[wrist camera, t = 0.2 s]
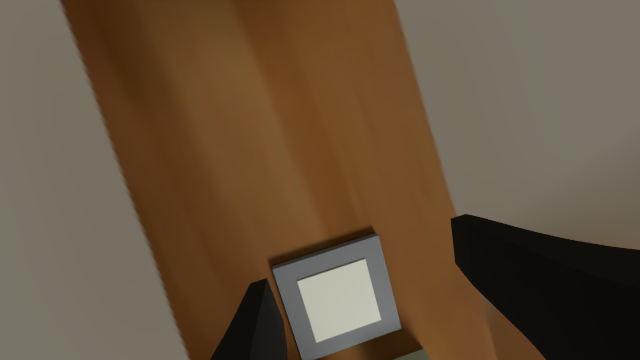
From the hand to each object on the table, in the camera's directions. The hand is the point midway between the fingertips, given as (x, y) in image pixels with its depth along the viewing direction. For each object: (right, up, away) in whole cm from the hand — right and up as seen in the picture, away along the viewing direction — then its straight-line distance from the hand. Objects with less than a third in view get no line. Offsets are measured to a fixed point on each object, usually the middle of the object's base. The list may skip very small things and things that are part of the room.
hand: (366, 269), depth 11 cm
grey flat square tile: (0, -6, +12) cm, 13 cm away
